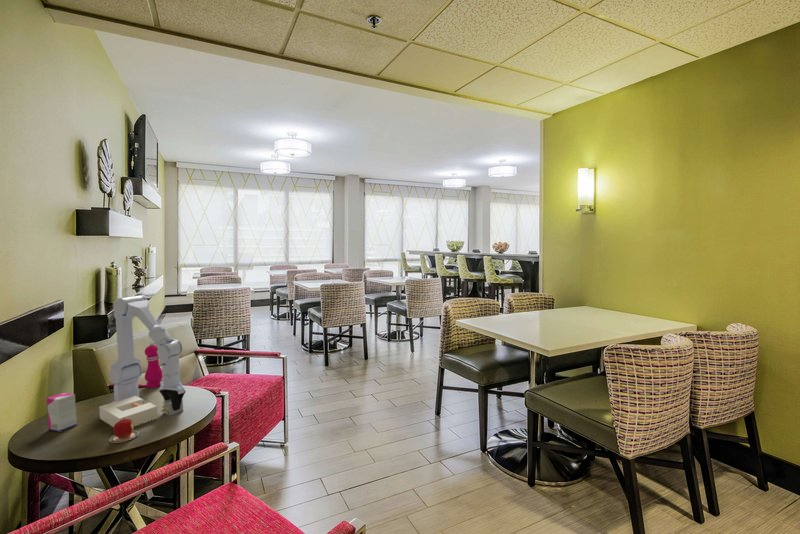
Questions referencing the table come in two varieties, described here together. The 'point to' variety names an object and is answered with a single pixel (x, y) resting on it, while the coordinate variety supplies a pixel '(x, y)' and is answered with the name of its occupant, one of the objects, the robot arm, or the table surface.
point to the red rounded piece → (123, 431)
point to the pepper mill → (153, 367)
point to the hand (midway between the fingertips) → (173, 408)
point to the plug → (170, 407)
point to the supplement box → (61, 412)
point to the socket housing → (128, 411)
